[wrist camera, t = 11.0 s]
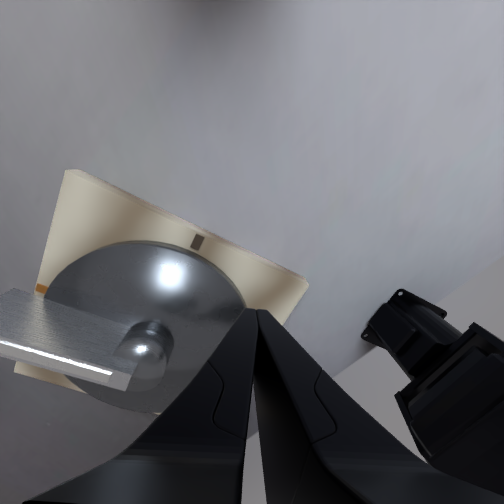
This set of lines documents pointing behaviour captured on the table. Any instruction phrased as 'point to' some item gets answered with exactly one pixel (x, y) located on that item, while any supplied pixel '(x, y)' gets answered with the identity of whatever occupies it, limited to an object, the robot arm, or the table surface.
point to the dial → (124, 322)
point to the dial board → (153, 229)
